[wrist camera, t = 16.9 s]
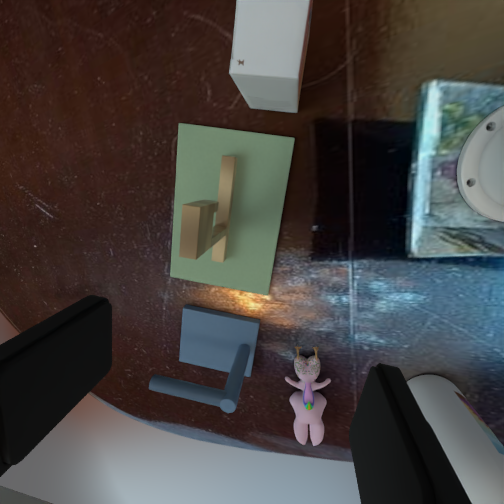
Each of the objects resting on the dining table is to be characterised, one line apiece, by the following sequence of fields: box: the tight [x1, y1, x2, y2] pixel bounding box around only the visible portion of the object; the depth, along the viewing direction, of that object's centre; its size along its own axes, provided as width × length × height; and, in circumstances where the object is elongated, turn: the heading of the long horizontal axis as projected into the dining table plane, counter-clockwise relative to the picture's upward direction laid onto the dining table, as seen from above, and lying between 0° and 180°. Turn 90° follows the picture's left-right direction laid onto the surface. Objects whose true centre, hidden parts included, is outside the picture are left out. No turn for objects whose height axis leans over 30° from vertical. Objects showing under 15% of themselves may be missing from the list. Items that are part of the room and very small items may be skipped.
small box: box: [229, 0, 313, 113], centre depth 24 cm, size 8×6×10 cm
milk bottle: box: [407, 375, 504, 504], centre depth 27 cm, size 8×8×20 cm
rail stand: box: [149, 305, 260, 413], centre depth 34 cm, size 9×11×11 cm
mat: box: [170, 123, 295, 295], centre depth 34 cm, size 20×14×1 cm
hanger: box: [179, 155, 238, 263], centre depth 28 cm, size 13×2×12 cm, turn 172°
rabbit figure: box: [285, 345, 331, 446], centre depth 37 cm, size 6×6×15 cm
